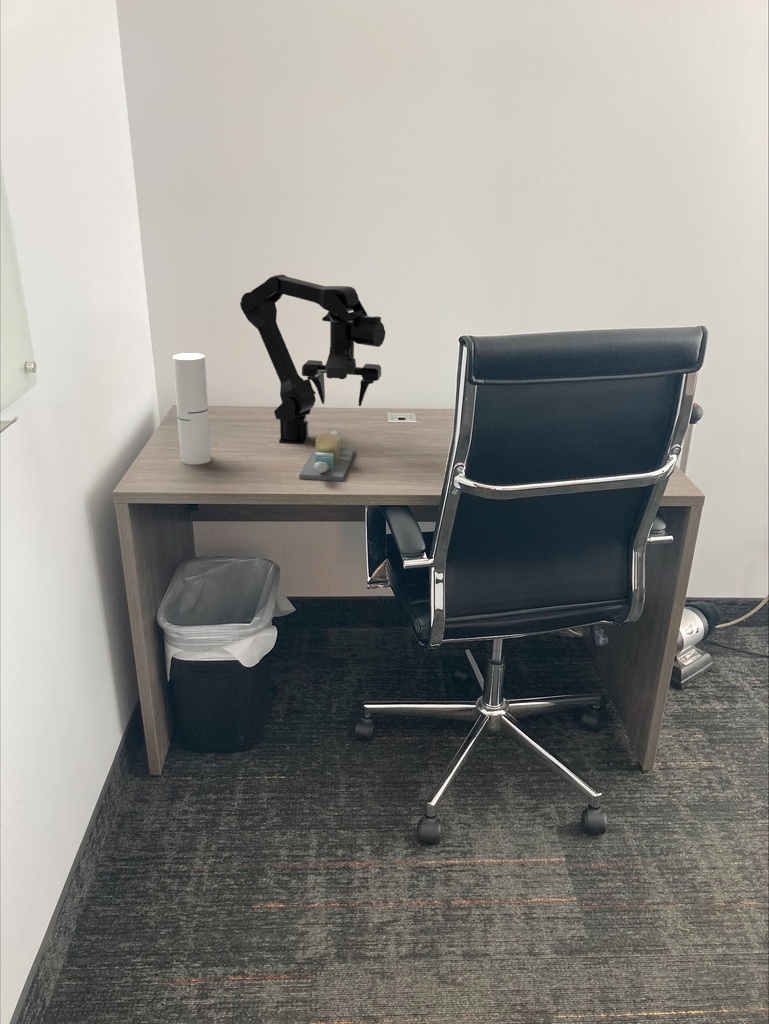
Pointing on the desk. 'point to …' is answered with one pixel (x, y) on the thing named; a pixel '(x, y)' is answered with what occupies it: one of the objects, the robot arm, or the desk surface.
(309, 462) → the coupling stand
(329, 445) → the block
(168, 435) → the desk surface
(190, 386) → the cylindrical container
